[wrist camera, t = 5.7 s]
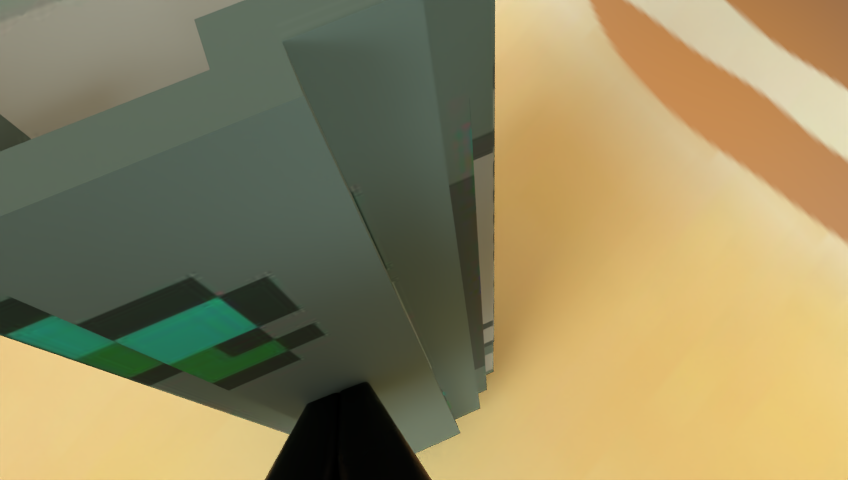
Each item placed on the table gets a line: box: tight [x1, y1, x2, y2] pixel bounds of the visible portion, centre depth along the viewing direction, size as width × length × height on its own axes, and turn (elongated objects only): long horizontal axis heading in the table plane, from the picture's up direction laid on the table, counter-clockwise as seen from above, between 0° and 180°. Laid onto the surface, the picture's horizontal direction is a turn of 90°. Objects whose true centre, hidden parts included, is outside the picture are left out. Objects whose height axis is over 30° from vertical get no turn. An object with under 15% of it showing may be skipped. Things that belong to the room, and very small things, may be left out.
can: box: [0, 0, 495, 453], centre depth 11 cm, size 6×6×15 cm
